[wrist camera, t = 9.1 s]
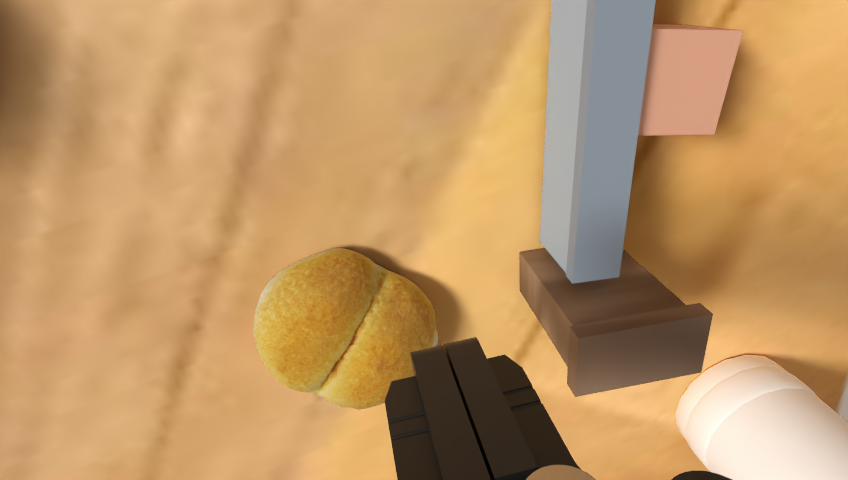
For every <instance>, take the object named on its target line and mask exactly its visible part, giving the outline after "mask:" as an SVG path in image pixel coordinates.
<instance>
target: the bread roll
mask: <svg viewBox="0 0 848 480" xmlns="http://www.w3.org/2000/svg"><path fill="white" fill-rule="evenodd" d="M254 338H255V342H256V346H257V349H258V352H259V355H260V357H261V359H262V361H263V363H264V364H265V365H266V367H267V368H268V370H269V371H270V372H271V373H272V375H273V376H274V377H275V378H276V379H277V380H278V381H279V382H280V383H281V384H283V385H284V386H286V387H288V388H290V389H293V390H296V391H300V392H308V393H313V394H316V395H319V396H321V397H323V398H325V399H326V400H328V401H330V402H331V403H334V404H336V405H339V406H341V407H348V408H355V409H364V408H370V407H373V406H376V405H380V404H382V403H384V402H385V398H386V395H387V393H388V390H389V387H390V384H391V381H395V380H399V379H403V378H408V377H412V376H414V373H413V367H412V362H411V356H410V352H414V351H418V350H423V349H427V348H431V347H436V345H437V343H438V332H437V329H436V317H435V312H434V308H433V305H432V303H431V302H430V300H429V299H428V298H427V296H426V295H425V294H424V293H423V292H422V291H421V290H420V289H419V288H418V287H417V286H416V285H415V284H414V283H413V282H411V281H410V280H409V279H407V278H405V277H403V276H400V275H398V274H396V273H394V272H391V271H389V270H387V269H385V268H383V267H381V266H379V265H377V264H375V263H374V262H373V261H372V260H370V259H369V258H367V257H365V256H364V255H362V254H360V253H357V252H355V251H352V250H349V249H344V248H336V249H330V250H326V251H323V252H320V253H317V254H315V255H312V256H309V257H307V258H304V259H302V260H299V261H297V262H295V263H293V264H292V265H290V266H288V267H287V268H285V269H284V270H282V271H281V272H279V273H278V274H277V275H275V276H274V277H273V278H272V279H271V280H270V281H269V282H268V284H267V286H266V287H265V289H264V290H263V292H262V294H261V296H260V299H259V303H258V305H257V307H256V312H255V318H254Z"/></svg>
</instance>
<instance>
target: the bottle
mask: <svg viewBox="0 0 848 480" xmlns="http://www.w3.org/2000/svg"><path fill="white" fill-rule="evenodd" d="M675 417H676V424H677V429H678V430H679V431H680V433H681V434H682V435H683V436H684V438H685V439H686V440H687V441H688V445H689V446H690V448H691V449H692V450H693V452H694V453H695V454H696V455H697V457H698V458H699V459H700V460H701V462H702V463H703V464H704V465H705V466H706V468H707V469H708V470H709V471H710V472H712V473H716V474H720V475H722V476H725V477H727V478H730V479H732V480H848V422H847V421H846V420H845V419H844V418H842V417H841V416H840V415H839V414H838V413H836V412H835V411H834V410H833V409H832V408H830V407H829V406H828V405H827V404H825V403H824V402H823V401H822V400H821V399H819V398H818V397H817V396H816V394H815V393H814V392H813V391H812V390H811V389H810V388H809V387H808V386H807V385H805V384H804V383H803V382H802V381H801V380H799V379H798V378H797V377H795V376H794V375H792V374H790V373H788V372H787V371H786V370H785V369H783V368H782V367H781V366H780V365H779V364H777V363H776V362H774V361H772V360H771V359H769V358H767V357H765V356H758V355H742V356H738V357H734V358H730V359H726V360H723V361H722V362H720V363H718V364H716V365H714V366H712V367H710V368H708V369H706V370H705V371H704V372H703V373H702V374H701V375H699V376H698V377H697V378H696V379H695V380H694V381H692V382H691V384H690V385H689V386H688V388H687V389H686V391H685V392H684V393H683V395H682V396H681V398H680V401H679V404H678V407H677V411H676V414H675Z"/></svg>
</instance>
